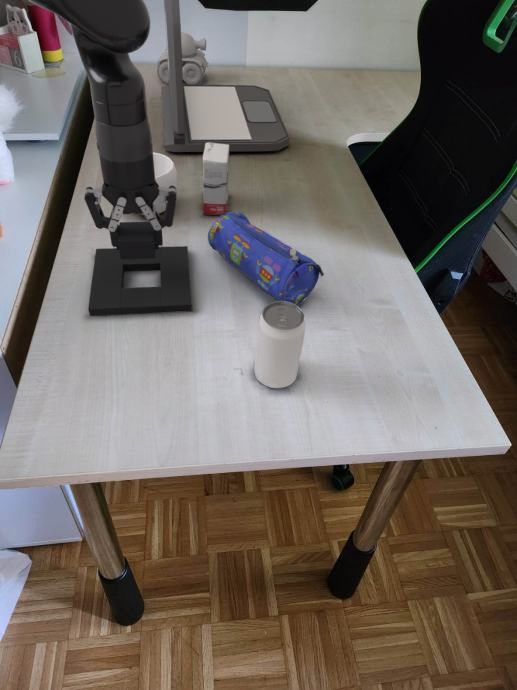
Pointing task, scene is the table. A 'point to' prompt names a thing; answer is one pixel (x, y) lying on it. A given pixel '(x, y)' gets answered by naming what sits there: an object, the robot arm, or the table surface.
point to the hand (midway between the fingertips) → (137, 246)
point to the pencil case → (264, 258)
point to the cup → (163, 177)
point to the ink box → (215, 178)
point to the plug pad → (136, 240)
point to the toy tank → (186, 61)
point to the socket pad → (119, 300)
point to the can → (279, 344)
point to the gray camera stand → (214, 107)
